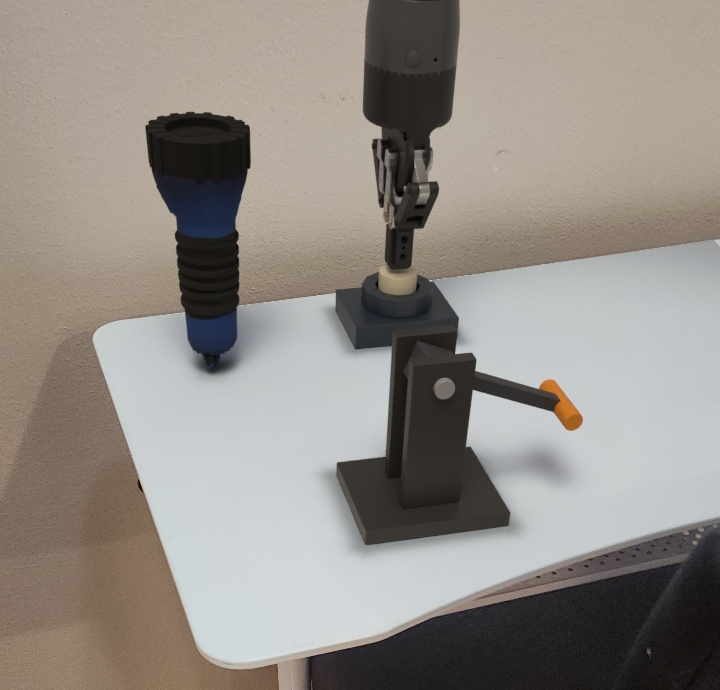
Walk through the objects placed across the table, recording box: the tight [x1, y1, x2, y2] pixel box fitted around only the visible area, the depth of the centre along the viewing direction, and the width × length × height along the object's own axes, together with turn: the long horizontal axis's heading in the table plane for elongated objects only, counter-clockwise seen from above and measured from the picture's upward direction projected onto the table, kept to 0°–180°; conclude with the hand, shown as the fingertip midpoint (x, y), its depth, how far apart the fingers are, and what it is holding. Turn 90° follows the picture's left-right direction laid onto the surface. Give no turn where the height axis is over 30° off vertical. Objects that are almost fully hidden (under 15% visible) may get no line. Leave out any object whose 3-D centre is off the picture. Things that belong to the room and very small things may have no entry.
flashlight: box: [144, 111, 252, 370], centre depth 83 cm, size 8×8×20 cm
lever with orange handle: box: [403, 341, 584, 432], centre depth 71 cm, size 13×5×2 cm, turn 105°
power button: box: [378, 263, 418, 295], centre depth 93 cm, size 4×4×2 cm
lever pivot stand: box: [336, 325, 511, 546], centre depth 72 cm, size 11×9×13 cm
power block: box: [335, 271, 460, 350], centre depth 95 cm, size 10×8×4 cm
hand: (397, 265), depth 93 cm, fingers closed
